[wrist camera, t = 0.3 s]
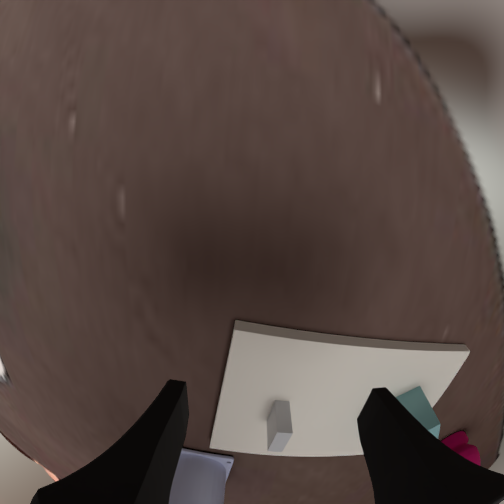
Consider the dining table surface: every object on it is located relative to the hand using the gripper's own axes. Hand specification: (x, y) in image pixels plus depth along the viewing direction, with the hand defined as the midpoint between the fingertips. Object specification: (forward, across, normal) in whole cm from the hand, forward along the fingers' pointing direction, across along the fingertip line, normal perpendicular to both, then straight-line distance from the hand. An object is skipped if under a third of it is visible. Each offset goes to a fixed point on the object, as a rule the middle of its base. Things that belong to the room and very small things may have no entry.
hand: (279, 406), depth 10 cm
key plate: (+10, -8, +12) cm, 17 cm away
